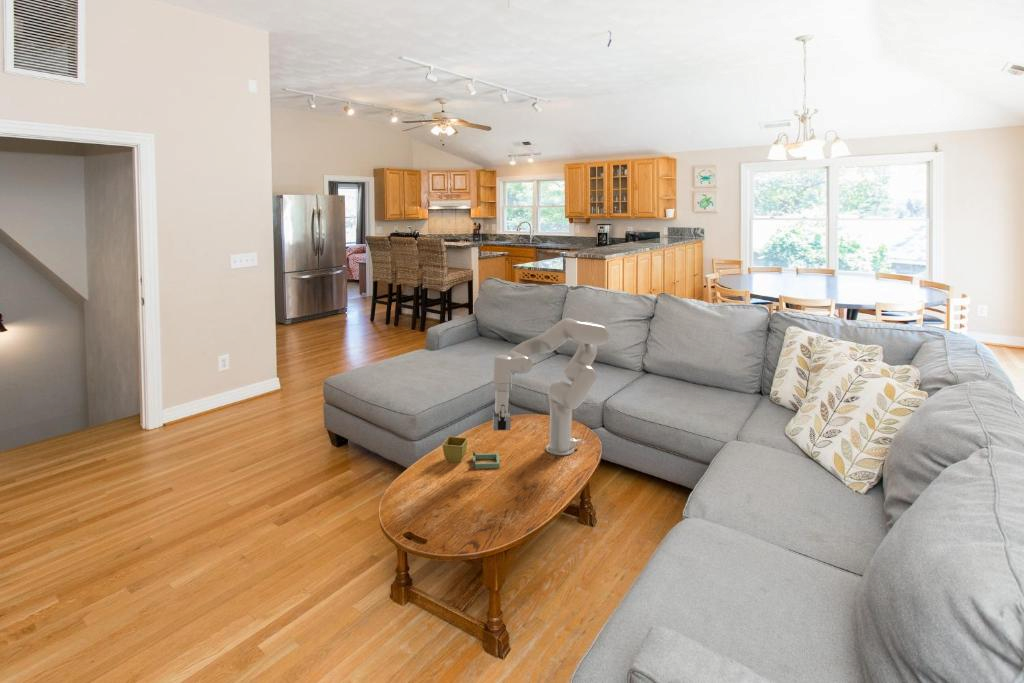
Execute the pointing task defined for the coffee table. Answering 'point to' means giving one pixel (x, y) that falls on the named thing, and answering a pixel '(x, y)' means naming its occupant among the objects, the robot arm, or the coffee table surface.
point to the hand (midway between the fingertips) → (501, 426)
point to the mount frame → (486, 456)
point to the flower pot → (454, 449)
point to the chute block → (496, 418)
